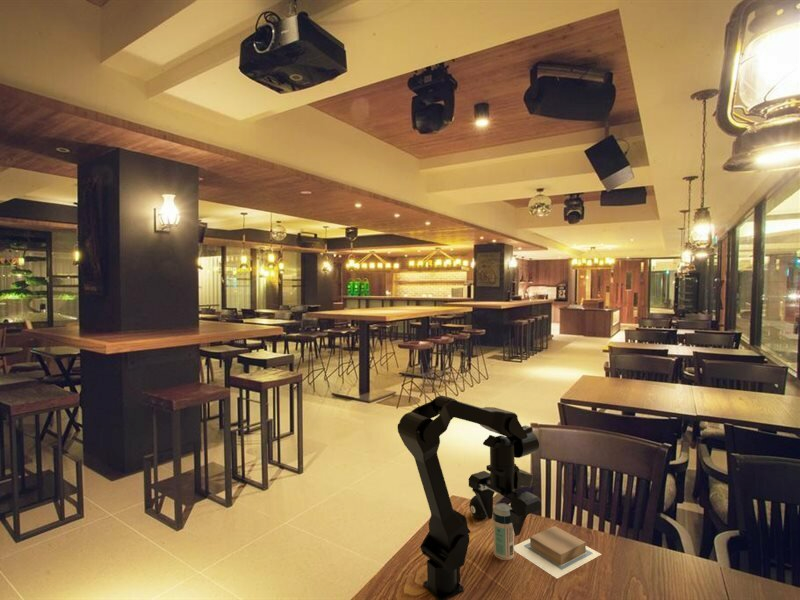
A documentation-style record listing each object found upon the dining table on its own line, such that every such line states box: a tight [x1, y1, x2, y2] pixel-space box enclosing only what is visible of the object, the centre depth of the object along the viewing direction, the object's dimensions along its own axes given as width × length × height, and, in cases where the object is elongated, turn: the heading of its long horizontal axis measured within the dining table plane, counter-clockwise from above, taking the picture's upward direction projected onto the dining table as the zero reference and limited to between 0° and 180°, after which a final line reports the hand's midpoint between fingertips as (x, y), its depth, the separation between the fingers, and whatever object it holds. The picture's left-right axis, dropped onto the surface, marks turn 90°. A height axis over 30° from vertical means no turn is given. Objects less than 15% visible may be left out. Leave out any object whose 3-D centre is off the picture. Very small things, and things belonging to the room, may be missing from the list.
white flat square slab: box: [514, 538, 602, 579], centre depth 107 cm, size 16×14×1 cm
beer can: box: [492, 502, 515, 561], centre depth 106 cm, size 5×5×12 cm
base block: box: [529, 525, 587, 565], centre depth 108 cm, size 9×9×2 cm
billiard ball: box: [468, 495, 487, 519], centre depth 125 cm, size 6×6×6 cm
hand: (503, 526), depth 106 cm, fingers open, 9 cm apart
